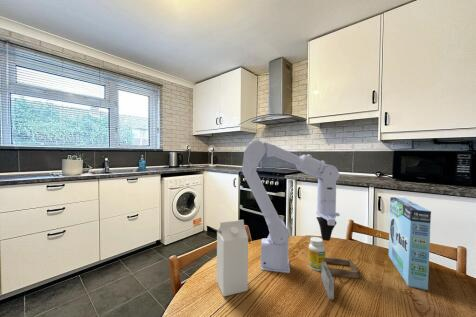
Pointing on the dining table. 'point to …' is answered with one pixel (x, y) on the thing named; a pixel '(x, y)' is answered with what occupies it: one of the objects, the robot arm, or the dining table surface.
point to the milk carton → (232, 257)
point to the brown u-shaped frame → (341, 272)
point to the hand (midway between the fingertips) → (325, 239)
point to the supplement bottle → (316, 253)
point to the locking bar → (327, 280)
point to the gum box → (410, 241)
